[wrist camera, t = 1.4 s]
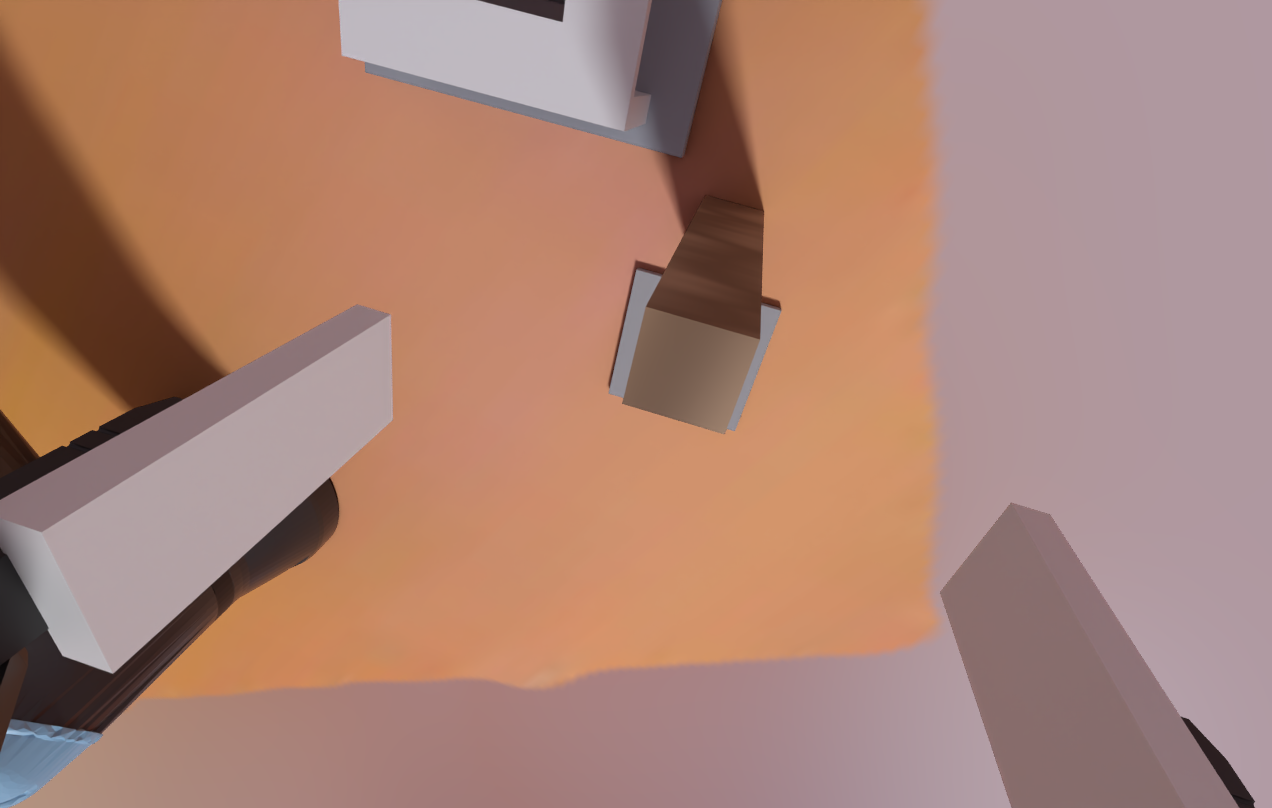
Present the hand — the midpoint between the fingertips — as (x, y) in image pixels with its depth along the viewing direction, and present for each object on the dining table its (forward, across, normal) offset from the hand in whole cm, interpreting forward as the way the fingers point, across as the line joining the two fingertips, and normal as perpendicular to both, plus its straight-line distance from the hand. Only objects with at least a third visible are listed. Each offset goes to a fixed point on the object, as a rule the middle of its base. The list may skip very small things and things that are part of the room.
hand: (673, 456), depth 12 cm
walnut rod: (+20, 0, 0) cm, 20 cm away
